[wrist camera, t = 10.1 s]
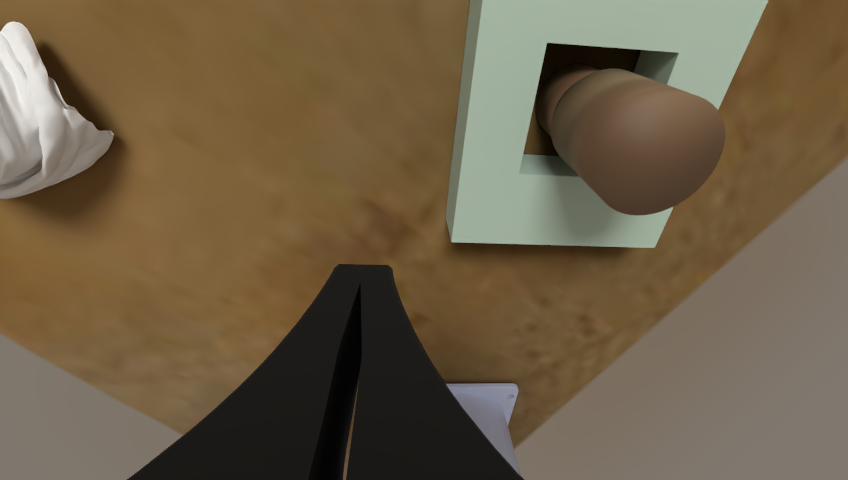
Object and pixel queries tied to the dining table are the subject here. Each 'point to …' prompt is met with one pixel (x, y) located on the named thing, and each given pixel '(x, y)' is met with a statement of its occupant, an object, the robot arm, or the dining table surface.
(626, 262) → the dining table surface
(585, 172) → the peg
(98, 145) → the whipped cream
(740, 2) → the board
